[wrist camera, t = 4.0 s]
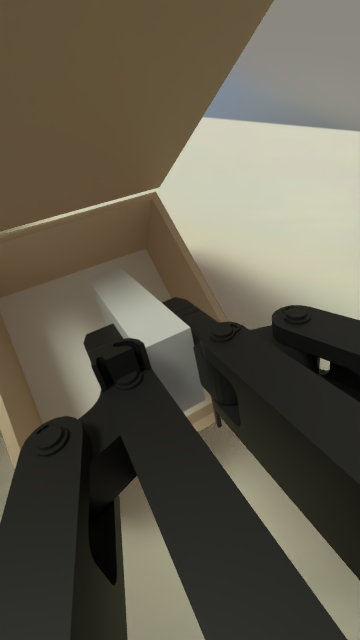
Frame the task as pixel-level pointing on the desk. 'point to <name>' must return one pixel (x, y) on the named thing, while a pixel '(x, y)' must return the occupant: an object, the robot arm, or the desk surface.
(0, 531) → the robot arm
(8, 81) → the mailer lid
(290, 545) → the desk surface
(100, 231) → the box
